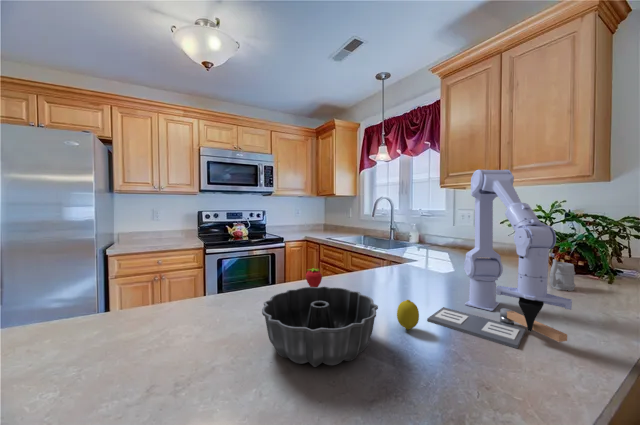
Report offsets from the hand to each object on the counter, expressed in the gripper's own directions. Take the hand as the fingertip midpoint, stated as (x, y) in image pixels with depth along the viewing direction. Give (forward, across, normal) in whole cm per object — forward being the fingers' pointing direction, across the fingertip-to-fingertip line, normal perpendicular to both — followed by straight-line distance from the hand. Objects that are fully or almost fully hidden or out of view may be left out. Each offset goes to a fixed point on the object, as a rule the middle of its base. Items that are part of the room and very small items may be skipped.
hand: (530, 330), depth 68 cm
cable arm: (0, -1, +3) cm, 4 cm away
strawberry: (+3, -64, -11) cm, 65 cm away
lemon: (+3, -24, -16) cm, 29 cm away
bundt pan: (+3, -35, -38) cm, 52 cm away
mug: (+3, +2, +61) cm, 61 cm away
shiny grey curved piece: (+3, -6, +7) cm, 10 cm away
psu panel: (+3, -12, -1) cm, 12 cm away
